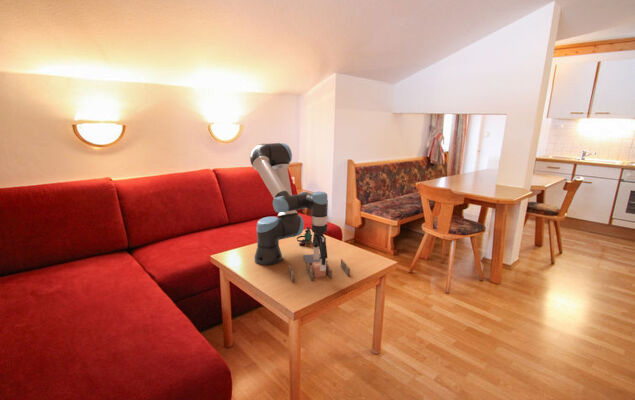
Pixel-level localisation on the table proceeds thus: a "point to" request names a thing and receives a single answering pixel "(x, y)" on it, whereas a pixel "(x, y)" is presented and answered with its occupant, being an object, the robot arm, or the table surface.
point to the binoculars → (306, 238)
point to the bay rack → (328, 270)
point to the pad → (311, 259)
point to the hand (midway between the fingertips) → (319, 264)
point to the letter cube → (317, 270)
